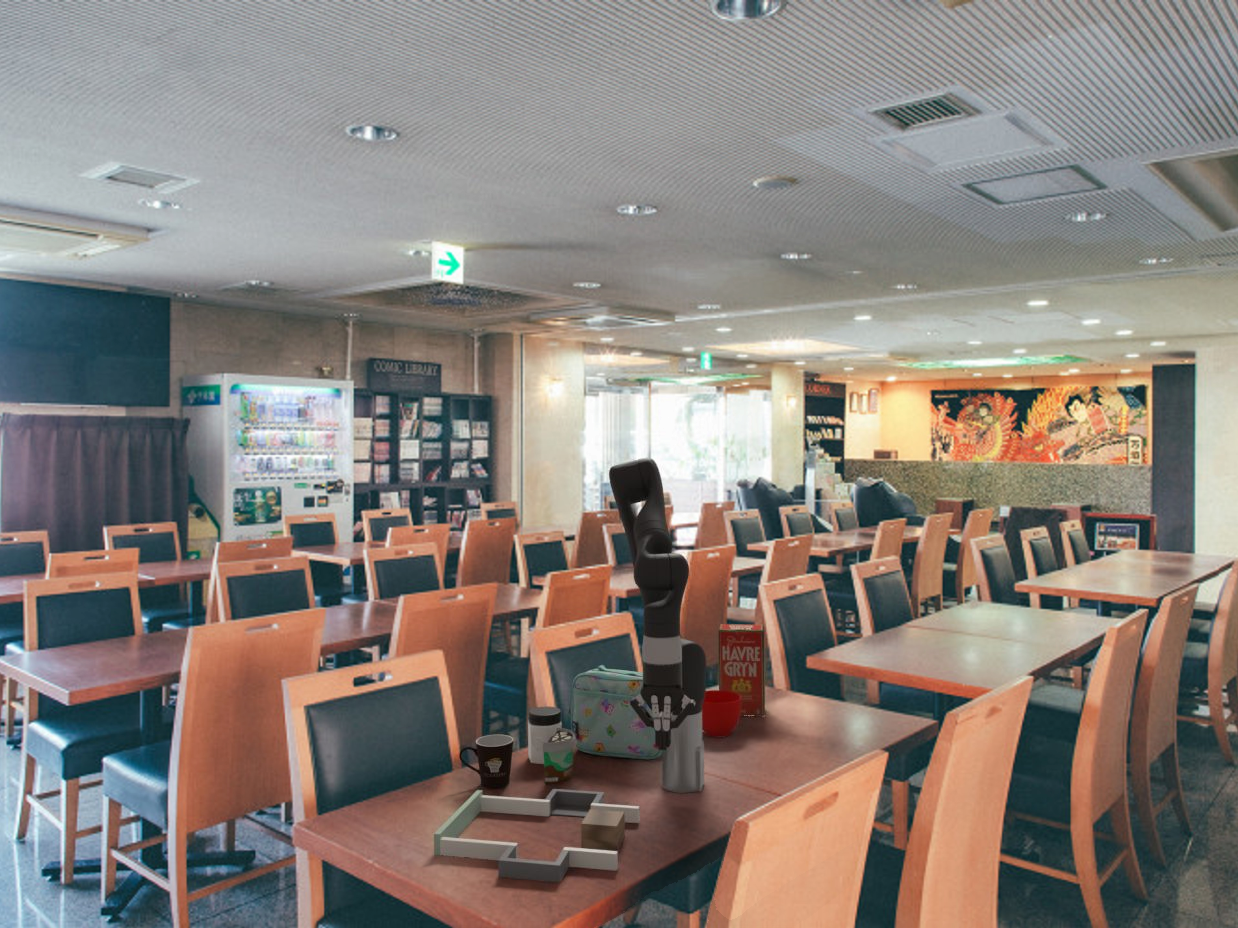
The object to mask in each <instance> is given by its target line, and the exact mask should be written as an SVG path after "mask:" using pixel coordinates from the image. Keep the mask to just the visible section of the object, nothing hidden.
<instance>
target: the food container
mask: <svg viewBox="0 0 1238 928" xmlns="http://www.w3.org/2000/svg"><path fill="white" fill-rule="evenodd" d="M576 743H577V742H576V738H575V735H574V733H573V732H572V731H571V729H568V728H564V727H562V728H557V730H556V733H555V735H553V736H552V737H551V738H550V739H549V741H548V742H547V743H546V742H543V752H544V764H543V767H544V771H543V773H544V785H545V786H553V785H554V786H555V785H560V784H565V783H567V782H569V781H571V780H572V779H573V764H574V763H573V761H574V749H575V748H574V747H576V746H575V745H576Z"/></svg>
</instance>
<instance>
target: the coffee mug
mask: <svg viewBox="0 0 1238 928" xmlns="http://www.w3.org/2000/svg"><path fill="white" fill-rule="evenodd" d="M513 749H514V738H513V737H512V736H510V735H506V734H487V735H484V736H481V737H478V738H477V739H475V747H472V746H465V747H462V749H461V750H460V751H459V756H458V757H459V759H460V762H461V763H462V764H464V765H465V767H467V768H469V769H471V770H472V771H474V772H476V773H477V774H478V775H479V779H480V785H481V787H482V788H485V789H488V790H489V789H490V790H497V789H503V788H506V787H508V786H509V784H510V777H511V771H512V770H511V769H512V768H511V767H512V760H513V759H512V757H513ZM467 750H470V751H473V753H474V754H475V756H476V757H477V762H478V763H477V764H478V769H477V768H476V767H474V766H472V765H470V764H469V763H467V761H465V760H464V759H463V756H462V755H463V752H464V751H467Z"/></svg>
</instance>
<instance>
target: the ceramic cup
mask: <svg viewBox="0 0 1238 928" xmlns="http://www.w3.org/2000/svg"><path fill="white" fill-rule="evenodd" d="M740 713H741V696H740V695H739V694H737V693H734V692H730V691H721V690H719V689H718V690H717V689H716V690H712V689H711V690H706V693H705V698H704V700H703V703H702V732H703V733H704V734H705V735H706V736H708V737H711V736H712V738H725V737H727V736H730V735H731V733H732V732H733V731H734V730H735V729H736V727H737V725H738V723H739V721H740V717H741V716H740Z"/></svg>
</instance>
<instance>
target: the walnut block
mask: <svg viewBox="0 0 1238 928" xmlns="http://www.w3.org/2000/svg"><path fill="white" fill-rule="evenodd" d="M580 826H581V827H580V830H581V831H580V833H581V835H580V838H581V842H580V843H581V845H580V848H584V849H596V850H608V851H618V852H619V849H620V847H621V845H622V844H623V841H624V839H625V837H626V836H625V833H626V832H625V831H626V829H625V826H626V822H625V817H624V812H620V811H606V810H592V809H590V810H589V812H588V813H587V815H586V817H583V820H582V821H581V823H580Z"/></svg>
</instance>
